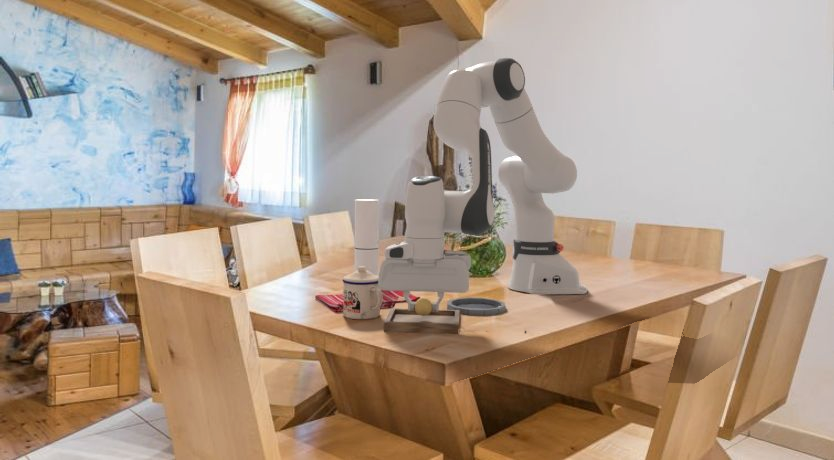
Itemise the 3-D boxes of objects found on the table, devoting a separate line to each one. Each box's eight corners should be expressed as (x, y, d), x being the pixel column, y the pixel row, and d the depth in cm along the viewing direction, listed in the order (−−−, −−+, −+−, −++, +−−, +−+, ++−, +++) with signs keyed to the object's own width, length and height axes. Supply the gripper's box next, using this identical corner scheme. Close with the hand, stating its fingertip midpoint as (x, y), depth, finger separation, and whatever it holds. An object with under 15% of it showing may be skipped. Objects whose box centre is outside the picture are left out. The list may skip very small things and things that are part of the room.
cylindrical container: (380, 282, 198) (380, 199, 195) (376, 286, 191) (376, 200, 188) (356, 281, 199) (357, 199, 196) (352, 285, 192) (352, 200, 189)
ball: (432, 313, 148) (432, 296, 148) (431, 317, 144) (432, 300, 144) (415, 313, 148) (415, 295, 148) (413, 317, 144) (413, 299, 144)
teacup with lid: (334, 314, 155) (334, 266, 154) (365, 309, 161) (365, 262, 160) (365, 324, 146) (365, 273, 145) (396, 318, 152) (397, 269, 151)
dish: (503, 306, 166) (503, 298, 166) (506, 320, 152) (506, 310, 152) (448, 305, 167) (448, 296, 167) (446, 318, 153) (446, 308, 153)
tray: (459, 318, 153) (459, 310, 153) (458, 334, 139) (458, 324, 139) (391, 316, 154) (391, 308, 154) (383, 331, 140) (384, 322, 140)
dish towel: (423, 307, 167) (423, 297, 167) (334, 315, 157) (334, 304, 157) (396, 294, 182) (396, 285, 182) (314, 301, 172) (314, 291, 172)
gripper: (471, 248, 147) (469, 309, 149) (381, 246, 149) (380, 306, 150) (471, 252, 141) (470, 315, 142) (377, 250, 143) (376, 312, 144)
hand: (423, 310), depth 146 cm, fingers closed on ball, 4 cm apart
